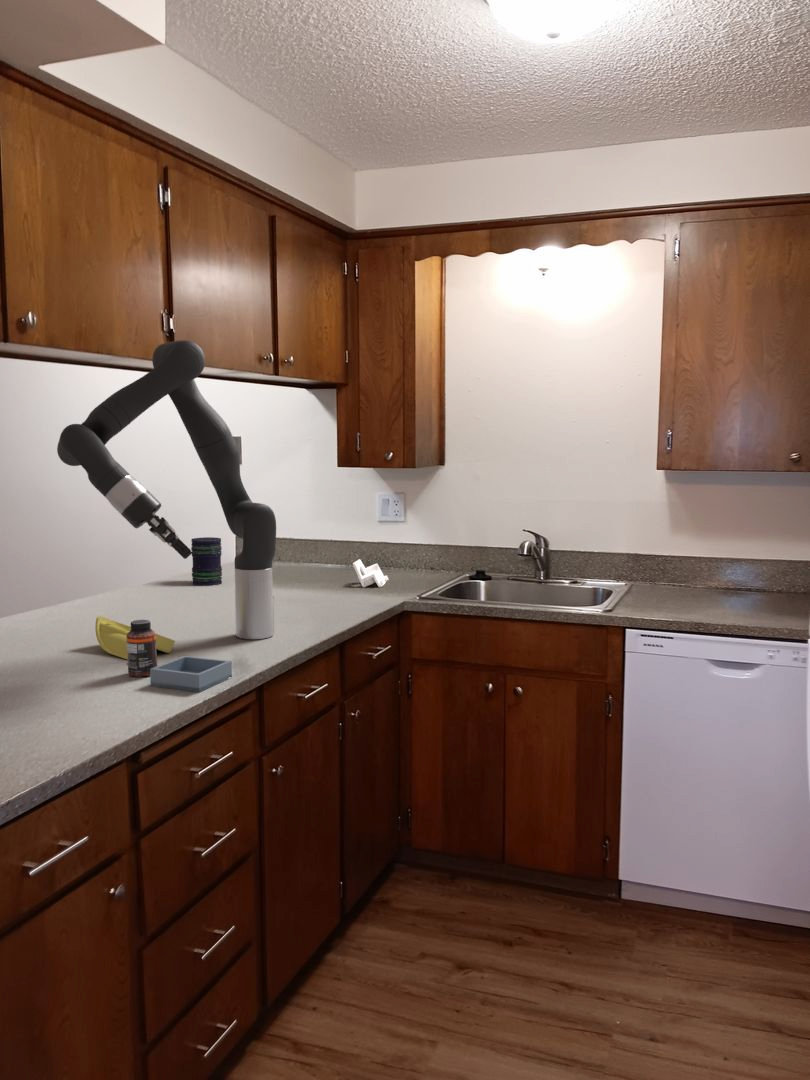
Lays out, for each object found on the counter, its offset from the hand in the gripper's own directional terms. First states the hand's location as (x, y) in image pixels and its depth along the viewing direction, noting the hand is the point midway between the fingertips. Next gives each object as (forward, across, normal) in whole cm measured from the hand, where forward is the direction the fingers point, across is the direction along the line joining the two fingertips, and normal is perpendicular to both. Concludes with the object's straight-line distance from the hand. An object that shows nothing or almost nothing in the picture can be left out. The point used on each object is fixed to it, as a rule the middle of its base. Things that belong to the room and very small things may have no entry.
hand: (188, 555), depth 195 cm
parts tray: (+19, -8, +18) cm, 27 cm away
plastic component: (+6, +21, +24) cm, 33 cm away
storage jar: (+7, +111, +2) cm, 111 cm away
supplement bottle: (+11, 0, +24) cm, 27 cm away
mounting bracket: (+46, +98, -36) cm, 114 cm away
